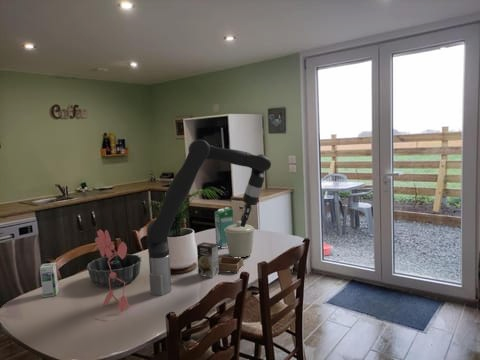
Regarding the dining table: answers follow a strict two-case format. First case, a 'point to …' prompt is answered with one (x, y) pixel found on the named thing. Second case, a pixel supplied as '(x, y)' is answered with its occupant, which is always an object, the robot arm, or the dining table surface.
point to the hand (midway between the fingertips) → (242, 223)
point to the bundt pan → (114, 270)
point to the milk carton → (222, 224)
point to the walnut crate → (230, 264)
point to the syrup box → (49, 279)
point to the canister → (239, 239)
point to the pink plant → (105, 248)
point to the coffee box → (207, 259)
